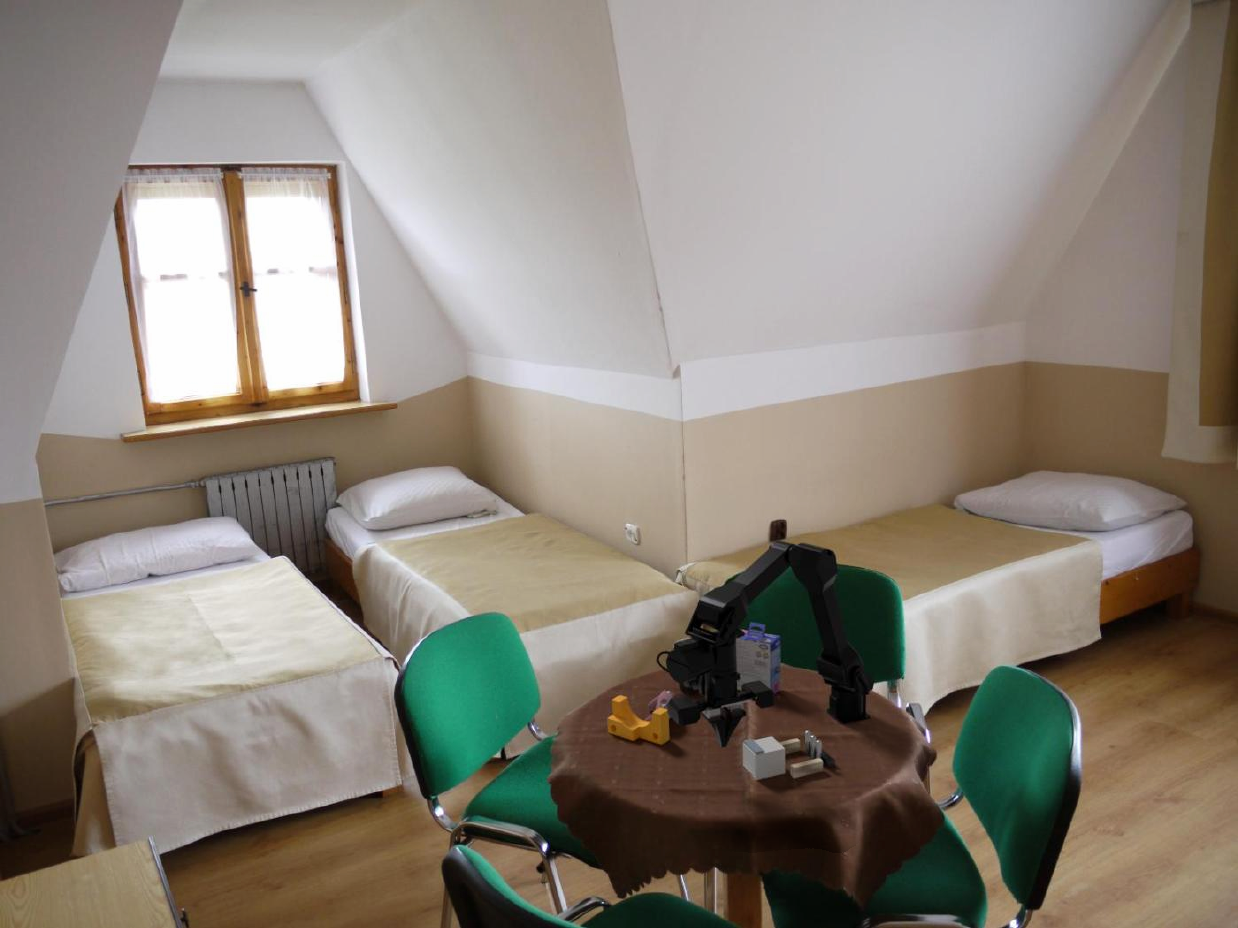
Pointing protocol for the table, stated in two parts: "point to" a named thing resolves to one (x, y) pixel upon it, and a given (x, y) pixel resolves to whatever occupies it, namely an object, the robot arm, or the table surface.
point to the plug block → (764, 757)
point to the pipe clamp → (637, 723)
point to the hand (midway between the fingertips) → (722, 746)
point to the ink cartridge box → (759, 658)
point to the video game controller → (660, 703)
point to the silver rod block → (817, 749)
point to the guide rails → (802, 767)
